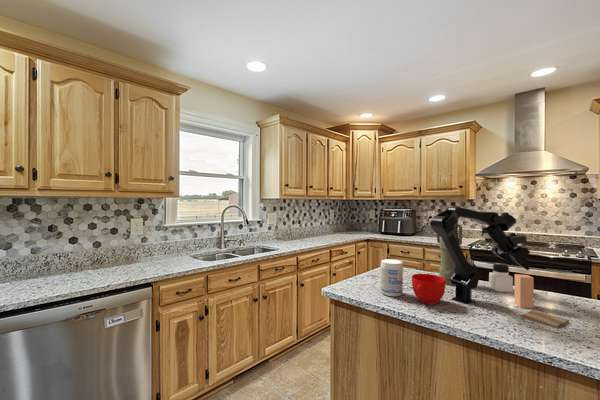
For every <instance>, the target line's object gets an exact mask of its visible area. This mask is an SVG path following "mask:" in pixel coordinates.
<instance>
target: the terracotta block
mask: <svg viewBox="0 0 600 400" xmlns="http://www.w3.org/2000/svg"><path fill="white" fill-rule="evenodd" d="M534 279H535V278H534V277H533V276H530V275H529V274H520V273H515V274H514V304H515V305H516V306H518V307H519V308H525V309H526V308H527V309H534V295H535V294H534V290H535V288H534V287H535V285H534V281H535V280H534Z"/></svg>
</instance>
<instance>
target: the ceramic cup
mask: <svg viewBox="0 0 600 400" xmlns="http://www.w3.org/2000/svg"><path fill="white" fill-rule="evenodd" d="M445 284H446V280H445V279H444V278H443V277H440V276H439V275H436V274H431V273H415V274H412V275H411V285H412V291H413V293H414V295H415V296H416V297H417V299H418V300H419V302H420V303H422V304H426V305H437V304H438V303H439V302H440V301H441V300H442V298H443V296H444V294H445V291H446V285H445Z"/></svg>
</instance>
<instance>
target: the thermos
mask: <svg viewBox="0 0 600 400" xmlns="http://www.w3.org/2000/svg"><path fill="white" fill-rule="evenodd" d="M454 227H455V230H454V235H455V237H456V239H457V241H458V243H459V245H460V246H461V245H462V244H463V226H462V225H461V224H459V221H458V222H457V223H456V224H455V225H454ZM436 241H437V242H436V243H437V244H439V249H440V268H439V269H438V270H439V271H438V272H439V274H438V276H440V277H443V278H444V279H445V280H446V284H445V286H453V287H454V286H455V287H456V285H455V284H452V283H451V280H450V279H451V278H452V276H453V275H454V274H455V271H454V269H455V263H454V261H453V259H452V258H451V256H450V254H449V252H448V250H447V248H446V246H445V244H444V242H443V240H442V238H441V237H440V236H439V235H438V234H437V233H436Z"/></svg>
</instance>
